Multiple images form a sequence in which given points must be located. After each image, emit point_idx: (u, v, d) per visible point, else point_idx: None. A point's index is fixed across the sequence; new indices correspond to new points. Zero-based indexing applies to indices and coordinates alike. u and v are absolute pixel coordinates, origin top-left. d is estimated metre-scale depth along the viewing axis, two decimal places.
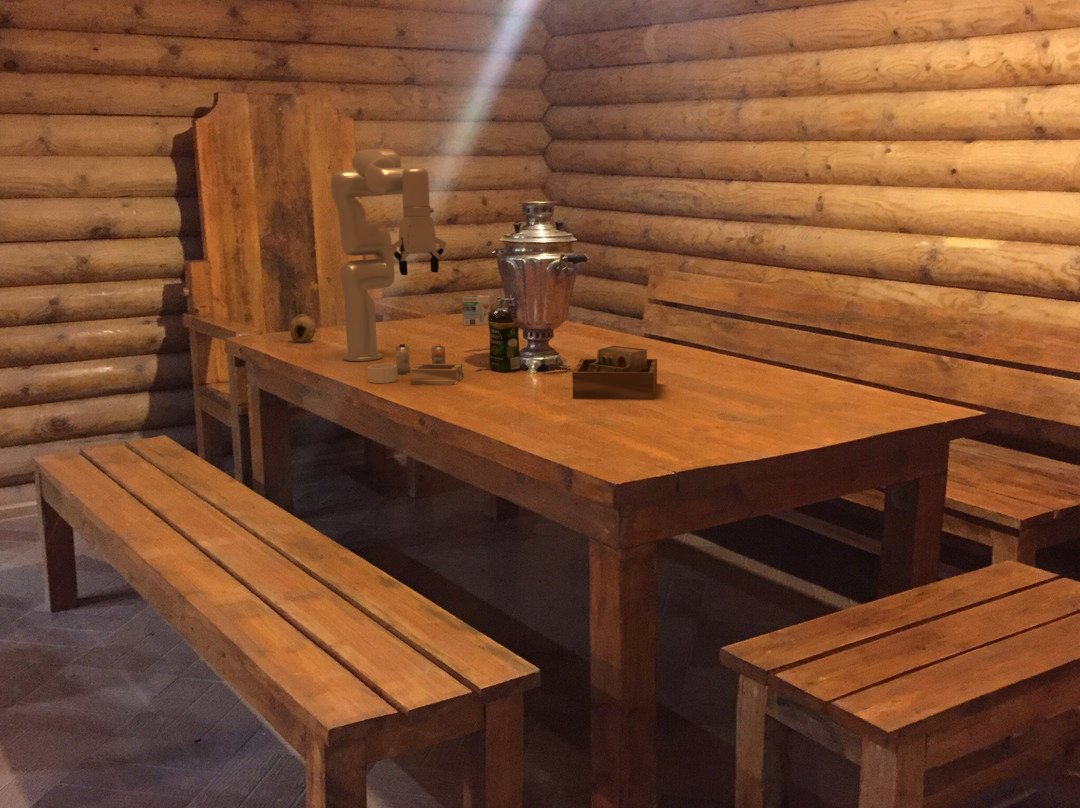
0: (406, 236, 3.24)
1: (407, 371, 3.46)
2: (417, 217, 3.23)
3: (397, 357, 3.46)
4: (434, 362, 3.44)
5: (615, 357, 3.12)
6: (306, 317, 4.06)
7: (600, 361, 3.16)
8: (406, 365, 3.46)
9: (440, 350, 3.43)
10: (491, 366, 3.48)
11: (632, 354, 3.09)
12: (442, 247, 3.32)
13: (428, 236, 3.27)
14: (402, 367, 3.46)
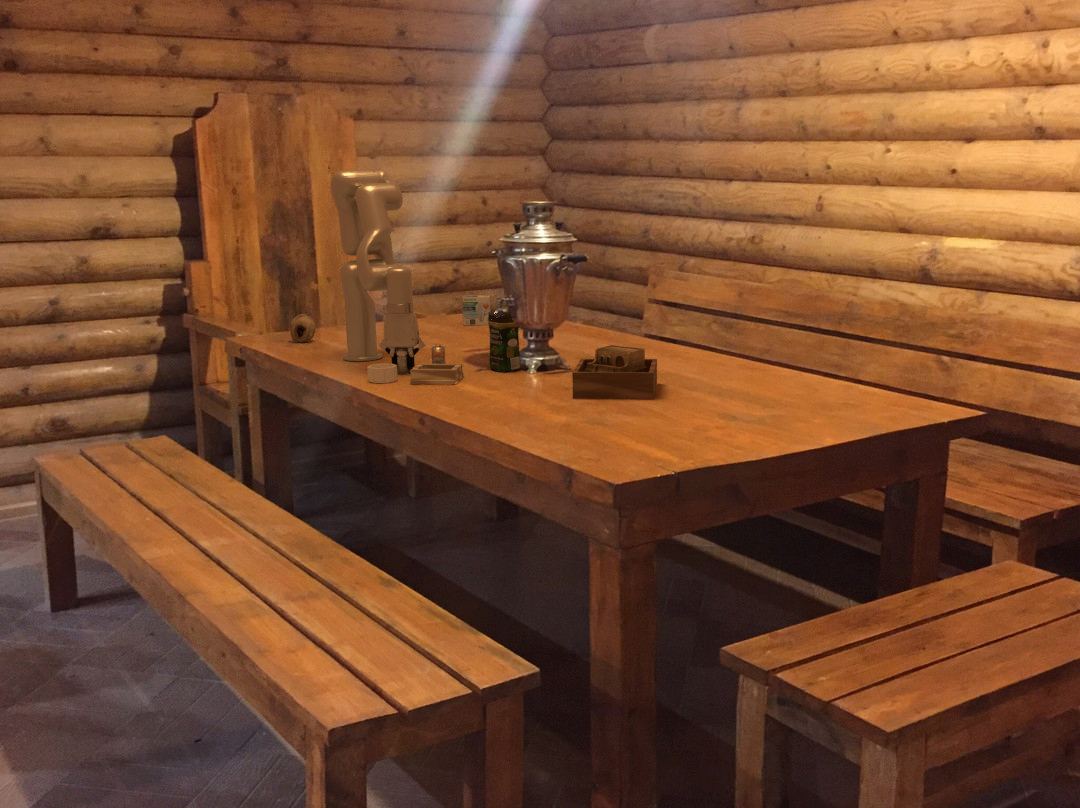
0: None
1: (407, 371, 3.46)
2: None
3: (397, 357, 3.46)
4: (434, 362, 3.44)
5: (613, 357, 3.13)
6: (306, 317, 4.06)
7: (598, 360, 3.17)
8: (406, 365, 3.46)
9: (440, 350, 3.43)
10: (491, 366, 3.48)
11: (630, 353, 3.10)
12: None
13: None
14: (402, 367, 3.45)
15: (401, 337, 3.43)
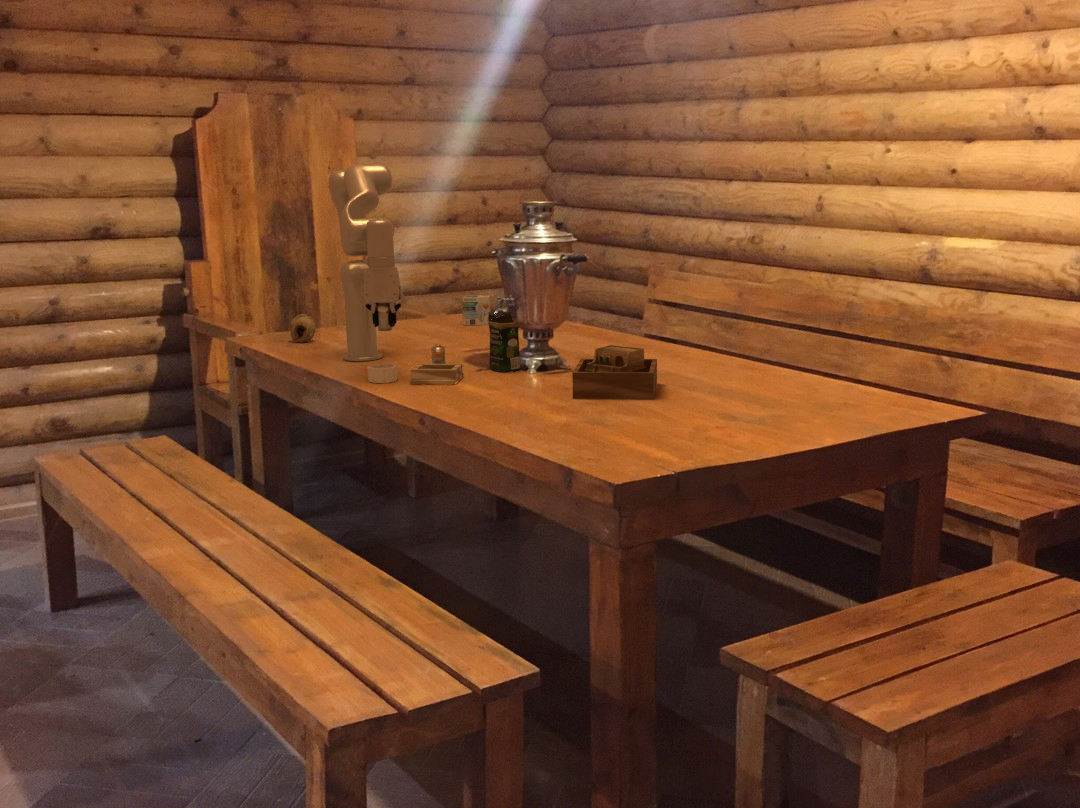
0: None
1: (389, 328, 3.34)
2: None
3: (378, 313, 3.33)
4: (434, 362, 3.44)
5: (613, 357, 3.13)
6: (306, 317, 4.06)
7: (597, 360, 3.17)
8: (388, 321, 3.33)
9: (440, 350, 3.43)
10: (491, 366, 3.48)
11: (630, 353, 3.10)
12: None
13: None
14: (384, 323, 3.33)
15: (382, 292, 3.30)
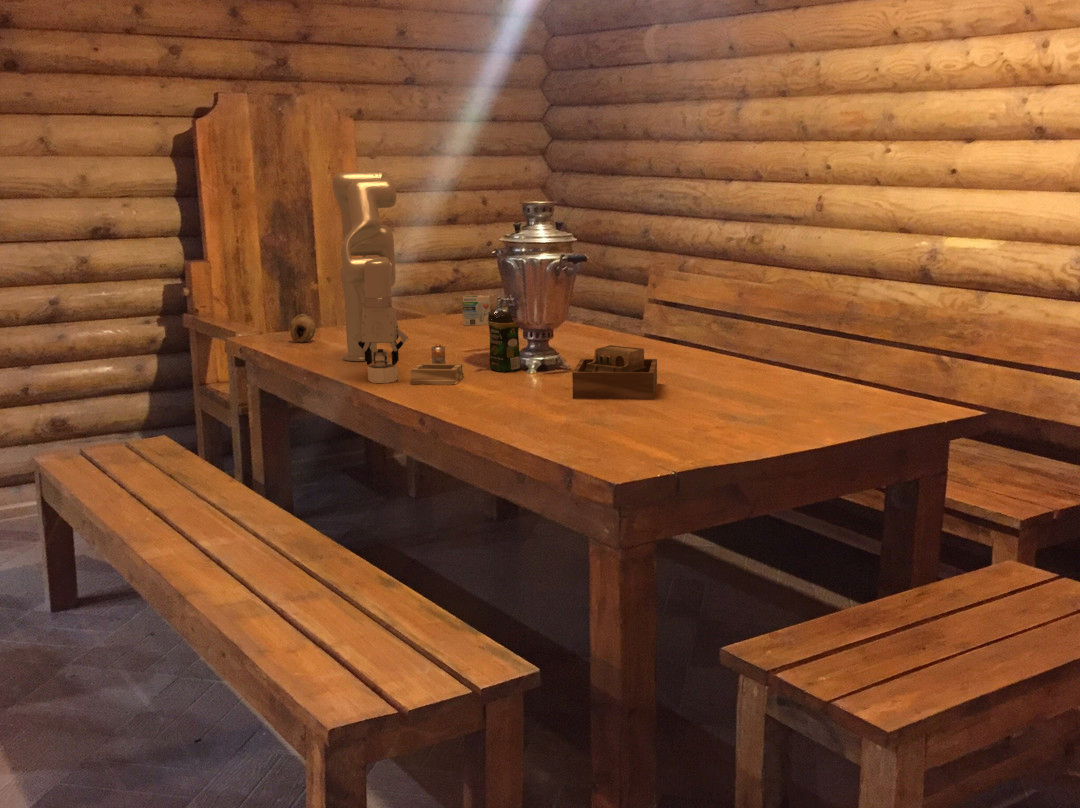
0: None
1: None
2: None
3: (375, 362, 3.34)
4: (434, 362, 3.44)
5: (613, 357, 3.13)
6: (306, 317, 4.06)
7: (597, 361, 3.17)
8: None
9: (440, 350, 3.43)
10: (491, 366, 3.48)
11: (630, 353, 3.10)
12: None
13: None
14: None
15: (379, 333, 3.31)
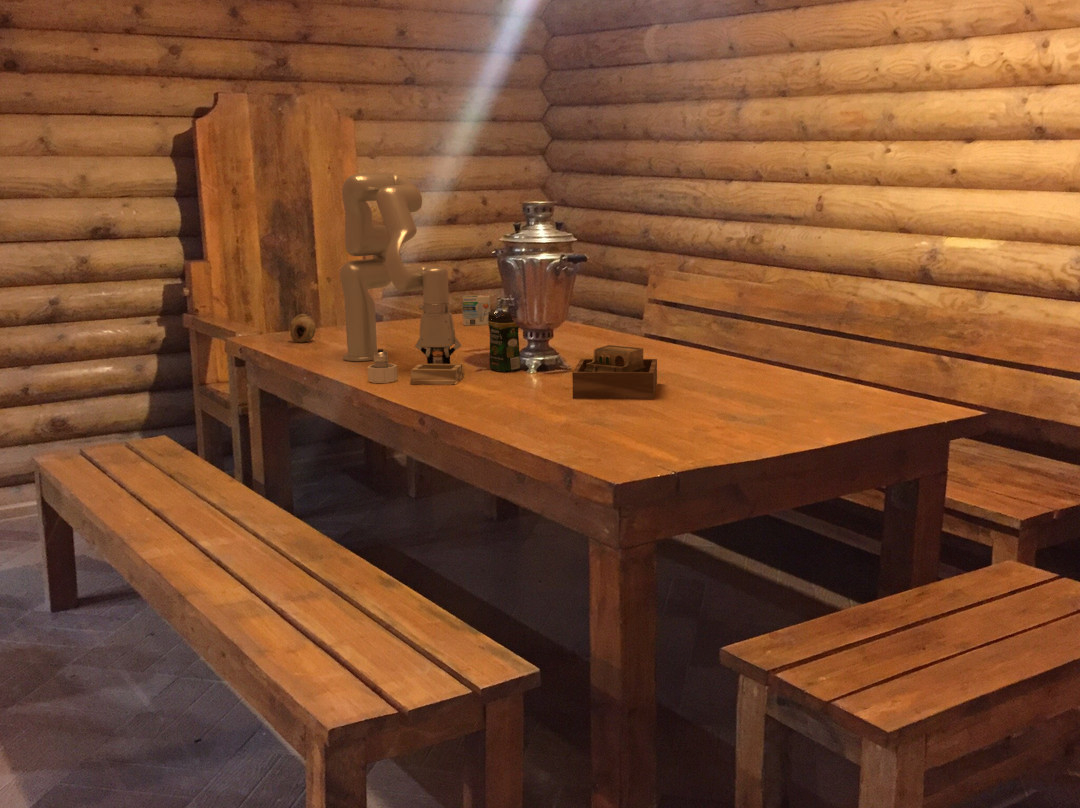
0: None
1: None
2: None
3: (375, 362, 3.34)
4: (434, 362, 3.44)
5: (612, 357, 3.13)
6: (306, 317, 4.06)
7: (596, 361, 3.17)
8: None
9: (440, 350, 3.43)
10: (491, 366, 3.48)
11: (630, 353, 3.10)
12: None
13: None
14: None
15: (437, 337, 3.41)
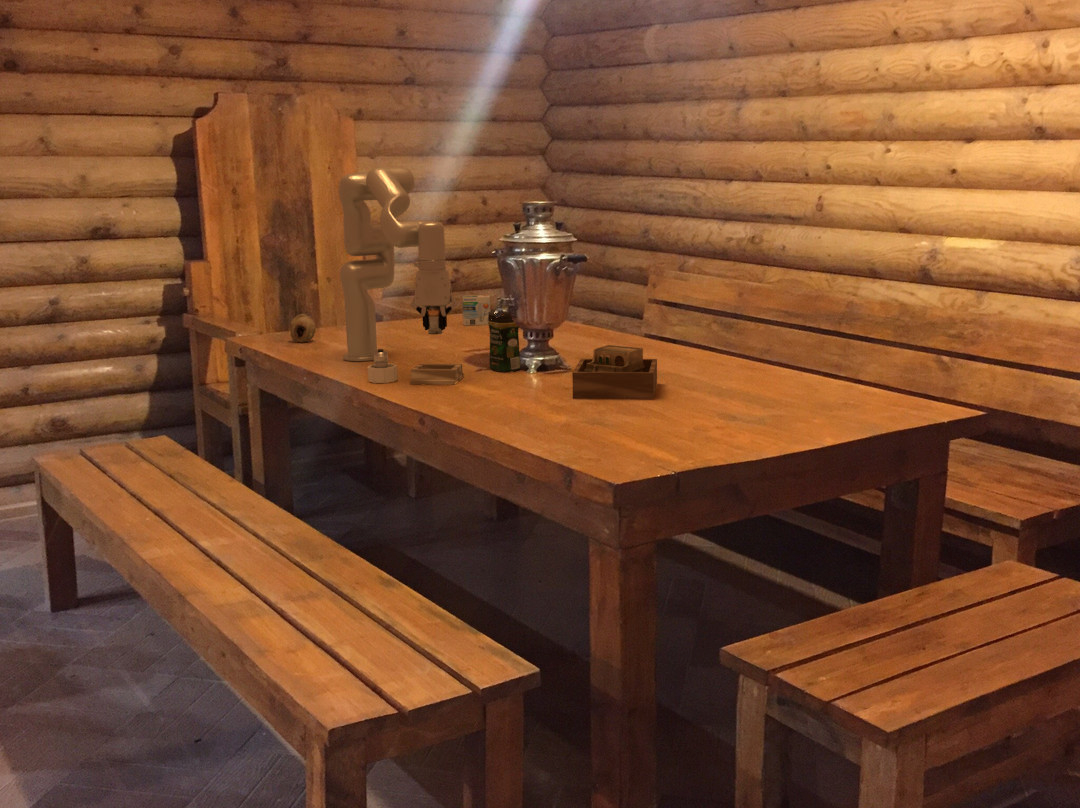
0: None
1: None
2: None
3: (375, 362, 3.34)
4: (430, 321, 3.30)
5: (612, 357, 3.13)
6: (306, 317, 4.06)
7: (596, 361, 3.17)
8: None
9: (436, 309, 3.29)
10: (491, 366, 3.48)
11: (630, 353, 3.11)
12: None
13: None
14: None
15: (433, 296, 3.27)
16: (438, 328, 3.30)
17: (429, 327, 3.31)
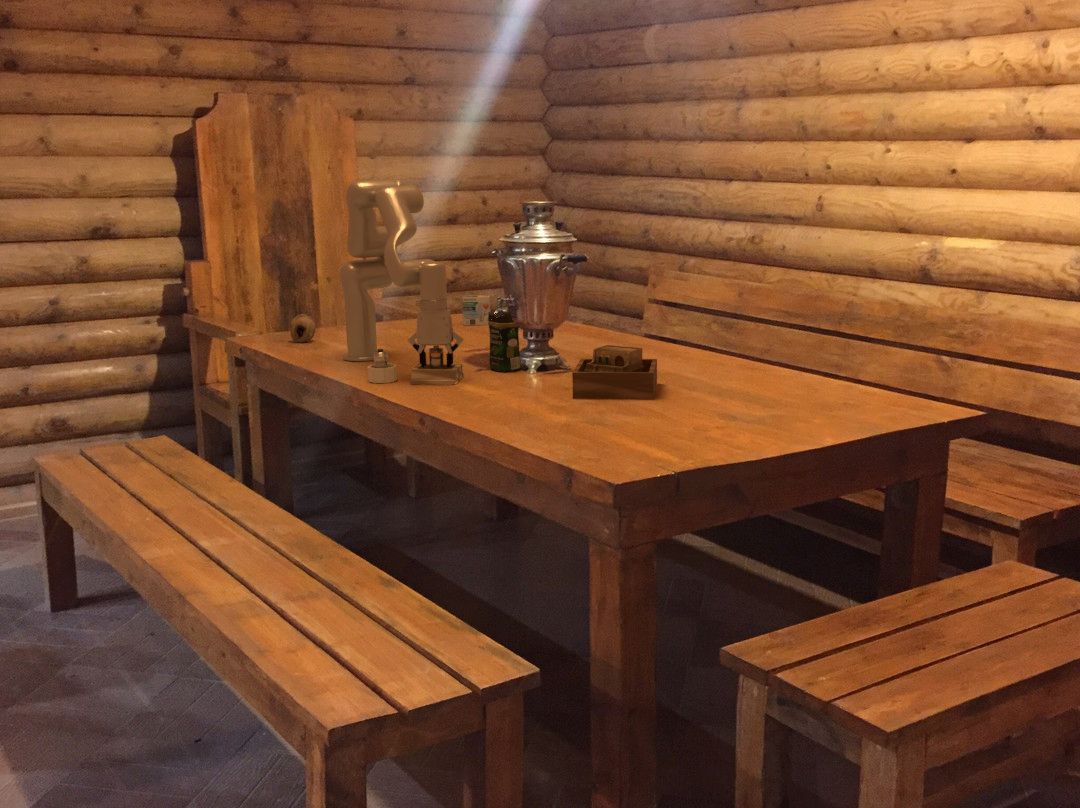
0: None
1: None
2: None
3: (375, 362, 3.34)
4: (432, 363, 3.33)
5: (612, 357, 3.13)
6: (306, 317, 4.06)
7: (596, 361, 3.17)
8: None
9: (438, 351, 3.32)
10: (491, 366, 3.48)
11: (630, 353, 3.11)
12: None
13: None
14: None
15: (435, 335, 3.30)
16: None
17: None
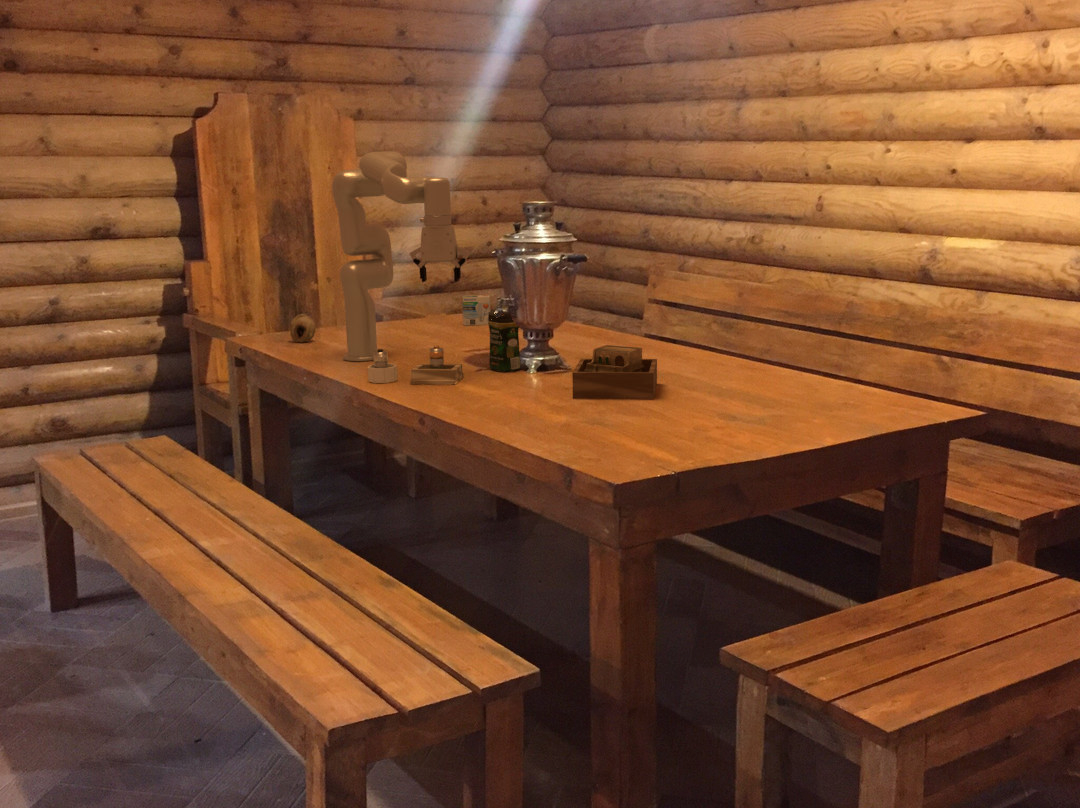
0: None
1: None
2: None
3: (375, 362, 3.34)
4: (432, 363, 3.33)
5: (612, 357, 3.14)
6: (306, 317, 4.06)
7: (596, 361, 3.17)
8: None
9: (438, 352, 3.32)
10: (491, 366, 3.48)
11: (630, 353, 3.11)
12: None
13: None
14: None
15: (439, 251, 3.29)
16: None
17: None
